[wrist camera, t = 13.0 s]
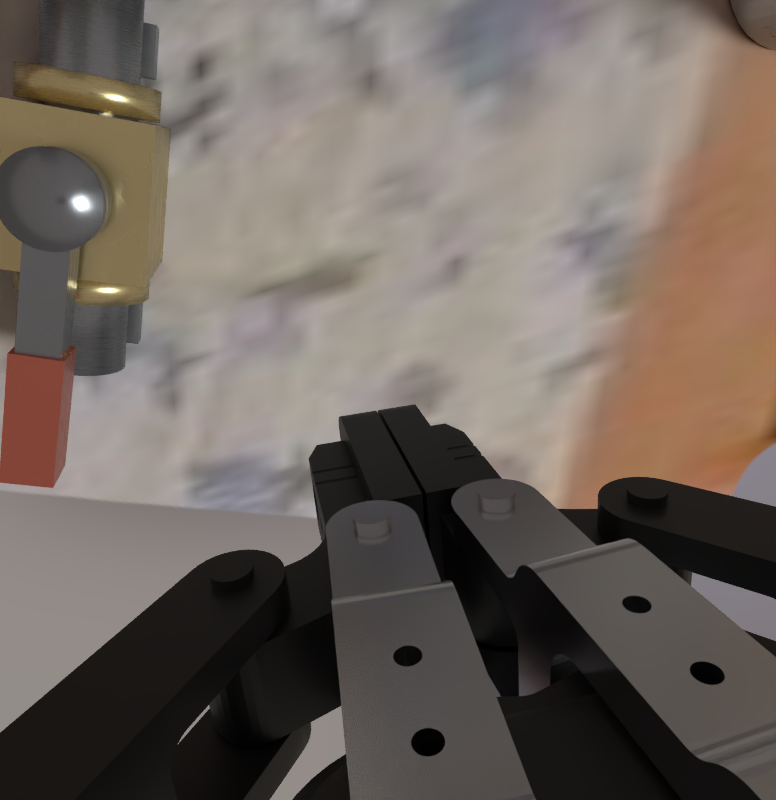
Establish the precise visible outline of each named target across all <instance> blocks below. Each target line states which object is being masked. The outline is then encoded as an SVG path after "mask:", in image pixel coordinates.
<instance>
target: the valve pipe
mask: <svg viewBox="0 0 776 800" xmlns="http://www.w3.org/2000/svg"><path fill="white" fill-rule="evenodd" d="M144 3H145V0H39V46H38V64H32V63H25V62H13V96H17V97H21V98H26V99H31V100H36V101H38V104H36V103H31V102H26V101H20V100H15V99H9V98H4V97H0V166H1V164H2V163H3V162H4V161H5V160H6V159H7V158H8V157H9V156H10V155H12V154H13V153H15V152H17V151H19V150H22V149H25V148H29V147H36V146H57V147H65V148H69V149H73V150H75V151H78V152H80V153H82V154H84V155H85V156H87V157H88V158H90V159H91V160H92V161H93V162H94V163H96V164H97V165H98V167H99V168H100V169H101V170H102V172H103V173H104V174H105V176H106V178H107V180H108V182H109V184H110V187H111V191H112V196H113V208H112V214H111V217H110V219H109V221H108V223H107V225H106V226H105V228H104V229H103V230H102V231H101V232H100V233H99V234H98V235H97V236H95V237H94V238H93V239H91V240H89V241H88V242H86V243H85V244H83V245H82V246H80V255H79V266H78V276H77V287H76V298H75V308H74V319H73V330H72V340H71V346H75V347H76V357H75V367H74V375H78V376H97V375H106V374H112V373H115V372H118V371H120V370H122V369H123V368H124V367H125V359H126V343H135V344H138V343H139V341H140V338H141V322H142V306H143V302H145V301H147V300H148V299H149V287H150V279H151V278H152V276H153V274H154V273H155V271H156V269H157V268H158V266H159V265H160V263H161V261H162V254H163V239H164V224H165V209H166V194H167V180H168V165H169V150H170V135H171V130H170V129H166V128H163V127H159V126H156V125H151V124H145V123H140V122H138V120H143V121H149V122H155V123H160V111H161V95H162V92H160V91H157V90H154V89H151V88H148V87H144V86H140V78H141V77H143V78H148V79H153V80H156V72H157V55H158V38H159V28H158V27H157V25H152V24H148V23H143V22H144ZM21 249H22V242H21V241H20V240H18V239H17V238H16V237H14V236H13V235H12V234H11V233H10V232H9V231H8V230H7V229H6V227H5V226H4V225H3V223H2V222H1V220H0V269H2V270H10V271H13V287H14V288H15V289H16V290H17V291H19V278H20V263H21Z"/></svg>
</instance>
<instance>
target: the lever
mask: <svg viewBox="0 0 776 800" xmlns="http://www.w3.org/2000/svg"><path fill="white" fill-rule="evenodd" d="M112 208H113V196H112V191H111V187H110V184H109V182H108V180H107V178H106V176H105V174H104V173H103V172H102V170H101V169H100V168H99V167H98V165H97V164H96V163H94V162H93V161H92V160H91V159H90V158H88V157H87V156H85V155H84V154H82V153H80V152H78V151H75V150H73V149H69V148H65V147H57V146H36V147H29V148H25V149H22V150H19V151H17V152H15V153H13V154H12V155H10V156H9V157H8V158H7V159H6V160H5V161H4V162H3V163H2V164H1V166H0V220H1V222H2V223H3V225H4V226H5V227H6V229H7V230H8V231H9V232H10V233H11V234H12V235H13V236H14V237H16V238H17V239H18V240H20V241H21V242H22V249H21V263H20V278H19V292H18V307H17V321H16V336H15V347H14V348H13V349H12V350H11V351H10V352H9V353H8V355H7V370H6V385H5V401H4V416H3V431H2V446H1V461H0V483H10V484H20V485H30V486H40V487H50V488H53V487H54V485H55V483H56V481H57V480H58V478H59V476H60V474H61V472H62V470H63V468H64V466H65V460H66V450H67V440H68V429H69V419H70V409H71V398H72V388H73V378H74V367H75V357H76V347H75V346H71V340H72V330H73V319H74V308H75V298H76V287H77V276H78V266H79V255H80V246H82V245H83V244H85V243H86V242H88V241H89V240H91V239H93V238H94V237H95V236H97V235H98V234H99V233H100V232H101V231H102V230H103V229H104V228H105V226H106V225H107V223H108V221H109V219H110V217H111V214H112Z"/></svg>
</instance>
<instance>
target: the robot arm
mask: <svg viewBox="0 0 776 800" xmlns="http://www.w3.org/2000/svg"><path fill="white" fill-rule="evenodd" d="M730 1H731V6H732V9H733V11H734V14H735V16H736V18H737V21H738V23H739V24H740V26H741V27H742V28H743V30H744V31H745V33H746V34H747V35H748V36H749V37H750V38H752V39H753V40H754V41H755V42H756V43H758V44H760V45H762V46H764V47H767V48H769V49H773V50H776V0H730ZM339 430H340V438H341V441H339V442H333V443H327V444H321V445H317V446H316V448H315V449H314V451H313V452H312V454H311V456H310V457H309V463H310V470H311V477H312V484H313V491H314V498H315V506H316V513H317V520H318V526H319V531H320V535H321V540H322V543H321V544H320V546H319V547H318V548H317V549H316V550H315V551H313V552H312V553H311V554H309V555H308V556H306V557H304V558H303V559H301V560H299V561H297V562H294V563H292V564H290V565H287V566H285V567H284V565H283V563H282V561H281V560H280V559H279V558H278V557H276V556H275V555H272V554H270V553H268V552H265V551H259V550H238V551H232V552H228V553H224V554H221V555H218V556H215V557H213V558H211V559H209V560H206V561H205V562H203V563H201V564H200V565H198V566H197V567H196V568H194V569H193V570H192V571H191V572H189V573H188V574H187V575H186V576H185V577H184V578H182V579H181V580H180V581H179V582H178V583H176V584H175V585H174V586H173V587H172V588H171V589H169V590H168V591H167V592H166V593H165V594H163V595H162V596H161V597H160V598H159V599H158V600H156V601H155V602H154V603H153V604H152V605H150V606H149V607H148V608H147V609H146V610H145V611H143V612H142V613H141V614H140V615H139V616H137V618H135V619H134V620H133V621H132V622H130V623H129V624H128V625H127V626H126V627H125V628H123V629H122V630H121V631H120V632H119V633H118V634H116V635H115V636H114V637H113V638H112V639H110V640H109V641H108V642H107V643H106V644H104V645H103V646H102V647H101V648H100V649H99V650H97V651H96V652H95V653H94V654H93V655H91V656H90V657H89V658H88V659H87V660H86V661H84V662H83V663H82V664H81V665H80V666H78V667H77V668H76V669H75V670H74V671H73V672H71V673H70V674H69V675H68V676H67V677H65V679H63V680H62V681H61V682H60V683H58V684H57V685H56V686H55V687H54V688H53V689H51V690H50V691H49V692H48V693H47V694H45V695H44V696H43V697H42V698H41V699H40V700H38V701H37V702H36V703H35V704H34V705H32V707H30V708H29V709H28V710H27V711H25V712H24V713H23V714H22V715H21V716H19V717H18V718H17V719H16V720H15V721H14V722H12V723H11V724H10V725H9V726H8V727H6V728H5V729H4V730H3V731H2V732H1V733H0V800H270V798H271V797H272V795H273V794H274V793H275V791H276V790H277V788H278V787H279V785H280V784H281V782H282V781H283V779H284V778H285V776H286V775H287V773H288V772H289V770H290V769H291V768H292V766H293V765H294V763H295V762H296V760H297V759H298V757H299V756H300V754H301V753H302V751H303V750H304V748H305V747H306V745H307V743H308V740H309V738H310V733H311V722H312V721H314V720H315V719H317V718H319V717H321V716H323V715H325V714H327V713H328V712H330V711H332V710H334V709H336V708H338V707H340V706H341V707H342V716H343V727H344V738H345V748H346V754H345V755H344V756H342V757H341V758H339V759H338V760H336V761H335V762H333V763H331V764H330V765H328V766H327V767H326V768H325V769H324V770H322V771H321V772H320V773H319V774H317V775H316V776H315V777H314V778H313V779H311V780H310V781H309V783H307V784H306V786H305V787H303V789H301V791H300V792H299V793H298V794H297V795H296V796H295V797H294V798H293V800H776V641H773V640H771V639H768V638H765V637H762V636H759V635H756V634H753V633H751V632H748V631H745V630H743V629H741V628H740V627H739V626H738V625H737V624H736V623H734V622H733V621H732V620H731V619H729V618H728V617H727V616H726V615H725V614H724V613H722V612H721V611H720V610H719V609H718V608H716V607H715V606H714V605H713V604H712V603H710V602H709V601H708V600H707V599H706V598H705V597H703V596H702V595H701V594H700V593H699V592H697V591H696V590H695V589H694V588H693V587H691V579H692V578H691V577H692V572H693V573H696V574H700V575H703V576H706V577H709V578H712V579H715V580H719V581H722V582H725V583H728V584H731V585H734V586H738V587H741V588H744V589H747V590H750V591H754V592H757V593H760V594H763V595H767V596H770V597H772V598H774V599H776V507H774V506H770V505H766V504H762V503H758V502H753V501H749V500H745V499H741V498H737V497H733V496H729V495H724V494H720V493H716V492H712V491H708V490H704V489H699V488H695V487H691V486H687V485H683V484H679V483H674V482H670V481H666V480H661V479H656V478H649V477H629V478H622V479H618V480H615V481H612V482H610V483H608V484H606V485H605V486H603V487H602V488H601V489H600V491H599V494H598V509H557V508H556V507H554V506H553V505H552V504H551V503H550V502H549V501H548V500H547V499H546V498H545V497H544V496H543V495H542V494H540V493H539V492H538V491H537V490H536V489H535V488H533V487H531V486H530V485H528V484H525V483H522V482H519V481H515V480H509V479H502V478H501V477H500V476H499V475H498V473H497V472H496V471H495V470H494V469H493V467H492V466H491V465H490V464H489V462H488V461H487V460H486V459H485V458H484V456H481V453H480V451H479V450H478V449H477V448H476V447H475V446H473V443H472V442H471V440H470V439H469V438H468V437H467V436H466V434H465V433H464V432H462V431H460V430H458V429H456V428H454V427H451V426H449V425H447V424H440V425H434V426H430V424H429V423H428V422H427V420H426V419H425V417H424V416H423V415H422V413H421V412H420V410H419V409H418V408H417V406H416V405H408V406H402V407H396V408H389V409H383V410H378V413H377V411H372V412H365V413H359V414H353V415H347V416H341V417H339ZM208 705H209V706H210V709H209V710H208V711H207V712H206V713H205V714H204V716H203V717H202V718H201V719H200V720H199V722H197V723H196V725H195V726H194V727H193V728H192V729H191V730H190V731H189V733H188V734H187V735H186V736H185V737H184V738H183V739H182V741H181V742H180V743H179V744H178V742H179V740H180V739H181V737H182V735H183V734H184V732H185V731H186V730H187V729H188V727H189V726H190V725H191V724H192V723H193V722H194V721H195V720H196V718H197V717H198V716H199V715H200V714H201V713H202V712H203V711H204V709H205V708H206V707H207V706H208ZM177 744H178V745H177Z"/></svg>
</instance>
